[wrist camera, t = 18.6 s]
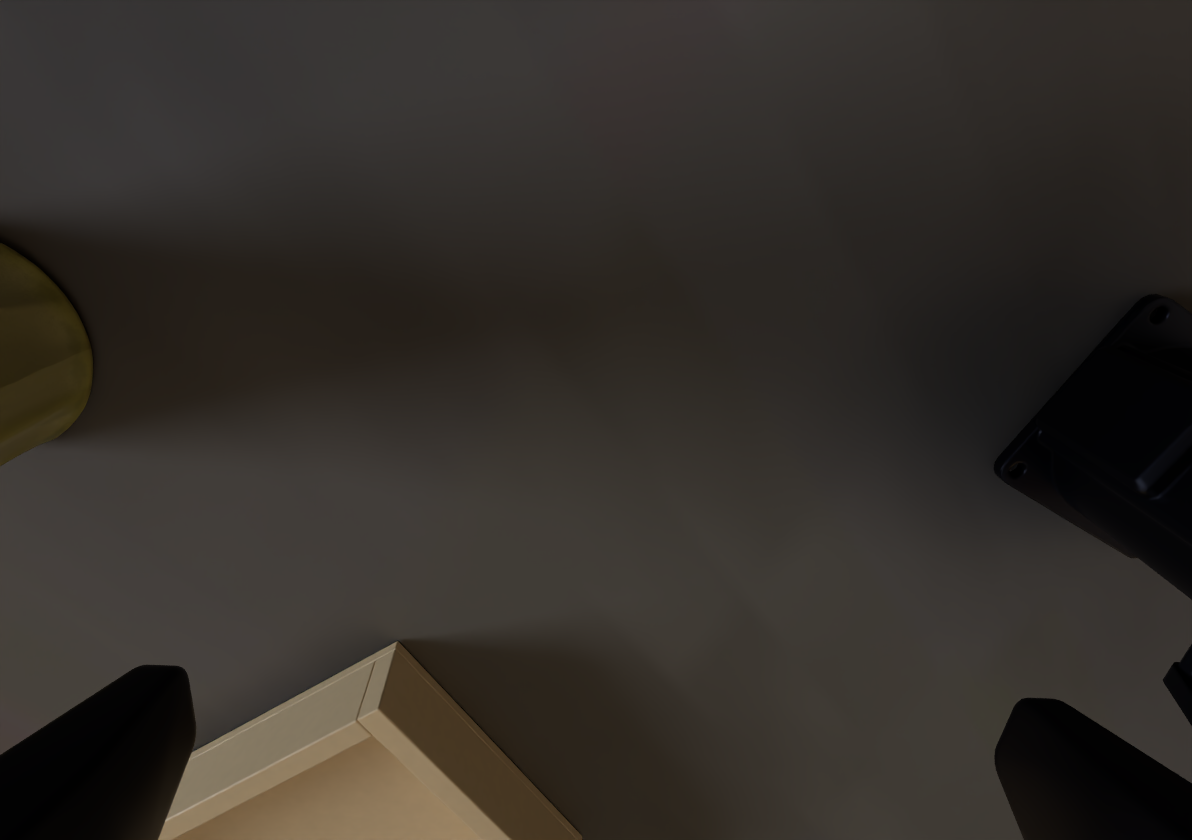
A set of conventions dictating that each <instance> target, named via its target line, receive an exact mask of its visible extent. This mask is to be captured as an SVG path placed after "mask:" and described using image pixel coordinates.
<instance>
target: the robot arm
mask: <svg viewBox="0 0 1192 840" xmlns="http://www.w3.org/2000/svg"><path fill="white" fill-rule="evenodd" d="M1156 308H1157V312H1156V314H1155V316H1154V317H1152V318H1151V319H1150V315H1151V313H1152V312H1153V310H1155V309H1156ZM1017 463H1018V465H1017V467H1016V468H1015V469H1014V470H1013V471H1009V470H1010V469H1011V467H1012V466H1013V465H1015V464H1017ZM994 472H995V474H996V475H997V476H998V477H999V478H1000V479H1002V480H1003V481H1004V482H1005V483H1007V484H1008V485H1010V486H1011V487H1013V488H1015V489H1016V490H1018V491H1020V492H1021V493H1023V494H1025V495H1026V496H1028V497H1030V498H1031V499H1033V500H1035V501H1036V502H1038V503H1040V504H1041V505H1043V506H1045V507H1046V508H1048V509H1050V510H1051V511H1053V512H1055V513H1056V514H1058V515H1060V516H1061V517H1063V518H1065V519H1066V520H1068V521H1070V522H1071V523H1073V524H1074V525H1076V526H1078V527H1079V528H1081V529H1083V530H1084V531H1086V532H1088V533H1089V534H1091V535H1093V536H1094V537H1096V538H1098V539H1099V540H1101V541H1103V542H1104V543H1106V544H1108V545H1109V546H1111V547H1113V548H1114V549H1116V550H1118V551H1119V552H1121V553H1123V554H1124V555H1126V556H1128V557H1130V558H1139V559H1140V560H1141V561H1143V562H1144V563H1145V564H1147V565H1148V566H1149V567H1150V568H1152V569H1153V570H1154V571H1156V572H1157V573H1158V574H1159V575H1161V576H1162V577H1163V578H1165V579H1166V580H1167V581H1168V582H1170V583H1171V584H1172V585H1174V586H1175V587H1176V588H1177V589H1179V590H1180V591H1181V592H1183V593H1184V594H1185V595H1186V596H1188V597H1189V598H1190V599H1192V314H1191V313H1190V312H1188V311H1187V310H1186V309H1185V308H1183V307H1182V306H1181V305H1179V304H1178V303H1177V302H1175V301H1174V300H1172V299H1170V298H1167V297H1164V296H1161V295H1157V294H1151V295H1147V296H1145V297H1143V298H1141V299H1140V300H1139V301H1138V302H1137V303H1136V304H1135V305H1134V306H1133V307H1132V308H1131V309H1130V310H1129V311H1128V313H1127V314H1126V315H1125V316H1124V317H1123V318H1122V319H1121V320H1120V321H1119V323H1118V324H1117V325H1116V326H1115V327H1114V328H1113V329H1112V330H1111V332H1110V333H1109V334H1108V335H1107V336H1106V337H1105V338H1104V339H1103V340H1102V342H1101V343H1100V344H1099V345H1098V346H1097V347H1096V348H1095V349H1094V351H1093V352H1092V353H1091V354H1090V355H1089V356H1088V357H1087V358H1086V359H1085V361H1084V362H1083V363H1082V364H1081V365H1080V366H1079V367H1078V368H1077V370H1076V371H1075V372H1074V373H1073V374H1072V375H1071V376H1070V377H1069V378H1068V380H1067V381H1066V382H1065V383H1064V384H1063V385H1062V386H1061V387H1060V389H1059V390H1058V391H1057V392H1056V393H1055V394H1054V395H1053V396H1052V398H1051V399H1050V400H1049V401H1048V402H1047V403H1046V404H1045V405H1044V406H1043V408H1042V409H1041V410H1040V411H1039V412H1038V413H1037V414H1036V415H1035V417H1034V418H1033V419H1032V420H1031V421H1030V422H1029V423H1028V424H1027V425H1026V427H1025V428H1024V429H1023V430H1022V431H1021V432H1020V433H1019V434H1018V436H1017V437H1016V438H1015V439H1014V440H1013V441H1012V442H1011V443H1010V444H1009V446H1008V447H1007V448H1006V449H1005V450H1004V451H1003V452H1002V453H1001V455H1000V456H999V457H998V458H997V460H996V461H995V464H994ZM1163 682H1164V684H1165V685H1166V687H1167V688H1168V690H1169V691H1170V693H1171V694H1172V696H1173V698H1174V699H1175V701H1176V702H1177V704H1178V705H1179V707H1180V708H1181V710H1182V711H1183V713H1184V715H1185V716H1186V718H1187V719H1188V721H1189V722H1190V724H1191V725H1192V644H1191V646H1190V647H1189V649H1188V650H1187V652H1186V654H1185V655H1184V657H1183V658H1182V660H1181V661H1180V662H1174V663H1173V665H1172V666H1171V668H1170V669H1169V671H1168V673H1167V674H1166V676H1165V677H1164V679H1163ZM195 737H196V721H195V714H194V708H193V702H192V696H191V690H190V684H189V678H188V675H187V672H186V671H185V669H183V668H182V667H179V666H168V665H142V666H139V667H136V668H134V669H132V670H131V671H129V672H128V673H126V674H124V675H123V676H121V677H120V678H118V679H117V680H115V681H114V682H112V683H111V684H109V685H107V686H106V687H104V688H103V689H101V690H100V691H98V692H97V693H95V694H94V695H92V696H91V697H89V698H87V699H86V700H84V701H83V702H81V703H80V704H78V705H77V706H75V707H74V708H72V709H70V710H69V711H67V712H66V713H64V714H63V715H61V716H60V717H58V718H57V719H55V720H54V721H52V722H50V723H49V724H47V725H46V726H44V727H43V728H41V729H40V730H38V731H37V732H35V733H33V734H32V735H30V736H29V737H27V738H26V739H24V740H23V741H21V742H20V743H18V744H17V745H15V746H13V747H12V748H10V749H9V750H7V751H6V752H4V753H3V754H1V755H0V840H158V839H159V836H160V834H161V831H162V828H163V826H164V823H165V821H166V818H167V815H168V813H169V810H170V808H171V805H172V802H173V800H174V797H175V794H176V792H177V789H178V787H179V784H180V781H181V779H182V776H183V773H184V771H185V768H186V766H187V763H188V760H189V758H190V755H191V752H192V750H193V746H194V742H195ZM994 757H995V766H996V771H997V774H998V777H999V779H1000V782H1001V784H1002V787H1003V789H1004V791H1005V794H1006V796H1007V799H1008V801H1009V804H1010V806H1011V809H1012V811H1013V814H1014V816H1015V819H1016V821H1017V824H1018V826H1019V829H1020V831H1021V834H1022V836H1023V838H1024V840H1192V783H1190V782H1189V781H1187V780H1186V779H1184V778H1182V777H1181V776H1179V775H1178V774H1176V773H1175V772H1173V771H1171V770H1170V769H1168V768H1167V767H1165V766H1164V765H1162V764H1160V763H1159V762H1157V761H1156V760H1154V759H1153V758H1151V757H1149V756H1148V755H1146V754H1145V753H1143V752H1142V751H1140V750H1138V749H1137V748H1135V747H1134V746H1132V745H1131V744H1129V743H1127V742H1126V741H1124V740H1123V739H1121V738H1120V737H1118V736H1117V735H1115V734H1113V733H1112V732H1110V731H1109V730H1107V729H1106V728H1104V727H1102V726H1101V725H1099V724H1098V723H1096V722H1095V721H1093V720H1091V719H1090V718H1088V717H1087V716H1085V715H1084V714H1082V713H1080V712H1079V711H1077V710H1076V709H1074V708H1073V707H1071V706H1069V705H1068V704H1066V703H1064V702H1063V701H1060V700H1056V699H1047V698H1024V699H1021V700H1020V701H1019V702H1017V703H1016V704H1015V706H1014V708H1013V710H1012V712H1011V715H1010V717H1009V719H1008V721H1007V723H1006V726H1005V728H1004V730H1003V732H1002V735H1001V737H1000V739H999V741H998V744H997V746H996V749H995V755H994Z"/></svg>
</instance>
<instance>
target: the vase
mask: <svg viewBox="0 0 1192 840" xmlns="http://www.w3.org/2000/svg"><path fill="white" fill-rule="evenodd" d="M92 379H93V356H92V350H91V345H90V342H89V339H88V336H87V333H86V331H85V328H84V326H83V324H82V322H81V320H80V317H79V315H78V313H77V312H76V310H75V309H74V307H73V306H72V304H71V303H70V301H69V300H68V299H67V297H66V296H65V295H64V293H63V292H62V291H61V290H60V289H59V287H58V286H57V285H56V284H55V283H54V282H53V281H52V280H51V279H50V278H49V277H48V276H47V275H46V274H45V273H44V272H43V271H42V270H41V269H40V268H38V267H37V266H36V265H35V264H33V263H32V262H31V261H29V260H28V259H26V258H25V257H24V256H22V255H21V254H19V253H18V252H16V251H15V250H13V249H11V248H9V247H8V246H6V245H4V244H2V243H0V466H1V465H3V464H5V463H6V462H8V461H10V460H12V459H13V458H15V457H17V456H19V455H21V454H22V453H24V452H26V451H28V450H30V449H32V448H34V447H36V446H38V445H40V444H43V443H45V442H48V441H50V440H53V439H55V438H57V437H58V436H59V435H61V434H62V433H63V432H65V431H66V430H67V429H68V428H69V427H70V426H71V425H72V424H73V423H74V422H75V421H76V419H77V418H78V417H79V415H80V414H81V412H82V411H83V409H84V408H85V406H86V403H87V401H88V398H89V396H90V392H91V387H92Z"/></svg>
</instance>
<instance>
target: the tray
mask: <svg viewBox="0 0 1192 840" xmlns="http://www.w3.org/2000/svg"><path fill="white" fill-rule="evenodd" d="M158 840H582V835H581V834H580V833H579V832H578V831H577V830H576V829H575V828H574V827H573V826H572V825H571V824H570V823H569V822H568V821H567V820H566V819H565V817H564V816H563V815H562V814H561V813H560V812H559V811H558V810H557V809H556V808H555V807H554V806H553V805H552V804H551V803H550V802H549V801H548V799H547V798H546V797H545V796H544V795H543V794H542V793H541V792H540V791H539V790H538V789H537V788H536V787H535V786H534V785H533V784H532V783H531V781H530V780H529V779H528V778H527V777H526V776H525V775H524V774H523V773H522V772H521V771H520V770H519V769H518V768H517V767H516V766H515V765H514V763H513V762H512V761H511V760H510V759H509V758H508V757H507V756H506V755H505V754H504V753H503V752H502V751H501V750H500V749H499V748H498V746H497V745H496V744H495V743H494V742H493V741H492V740H491V739H490V738H489V737H488V736H487V735H486V734H485V733H484V732H483V731H482V730H481V728H480V727H479V726H478V725H477V724H476V723H475V722H474V721H473V720H472V719H471V718H470V717H469V716H468V715H467V714H466V713H465V712H464V710H463V709H462V708H461V707H460V706H459V705H458V704H457V703H456V702H455V701H454V700H453V699H452V698H451V697H450V696H449V695H448V694H447V692H446V691H445V690H444V689H443V688H442V687H441V686H440V685H439V684H438V683H437V682H436V681H435V680H434V679H433V678H432V677H431V675H430V674H429V673H428V672H427V671H426V670H425V669H424V668H423V667H422V666H421V665H420V664H419V663H418V662H417V661H416V660H415V659H414V657H413V656H412V655H411V654H410V653H409V652H408V651H407V650H406V649H405V648H404V647H403V646H402V645H401V644H400V643H399V642H398V641H397V642H395V643H393V644H391V645H389V646H388V647H386V648H384V649H382V650H380V651H378V652H377V653H375V654H373V655H371V656H369V657H367V658H365V659H364V660H362V661H360V662H358V663H356V664H354V665H353V666H351V667H349V668H347V669H345V670H343V671H341V672H340V673H338V674H336V675H334V676H332V677H330V678H329V679H327V680H325V681H323V682H321V683H319V684H317V685H316V686H314V687H312V688H310V689H308V690H306V691H305V692H303V693H301V694H299V695H297V696H295V697H293V698H292V699H290V700H288V701H286V702H284V703H282V704H281V705H279V706H277V707H275V708H273V709H271V710H269V711H268V712H266V713H264V714H262V715H260V716H258V717H257V718H255V719H253V720H251V721H249V722H247V723H245V724H244V725H242V726H240V727H238V728H236V729H234V730H233V731H231V732H229V733H227V734H225V735H223V736H221V737H220V738H218V739H216V740H214V741H212V742H210V743H209V744H207V745H205V746H203V747H201V748H199V749H197V750H196V751H194V752H192V753H191V755H190V758H189V760H188V763H187V766H186V768H185V771H184V773H183V776H182V779H181V781H180V784H179V787H178V789H177V792H176V794H175V797H174V800H173V802H172V805H171V808H170V810H169V813H168V815H167V818H166V821H165V823H164V826H163V828H162V831H161V834H160V836H159V839H158Z"/></svg>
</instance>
